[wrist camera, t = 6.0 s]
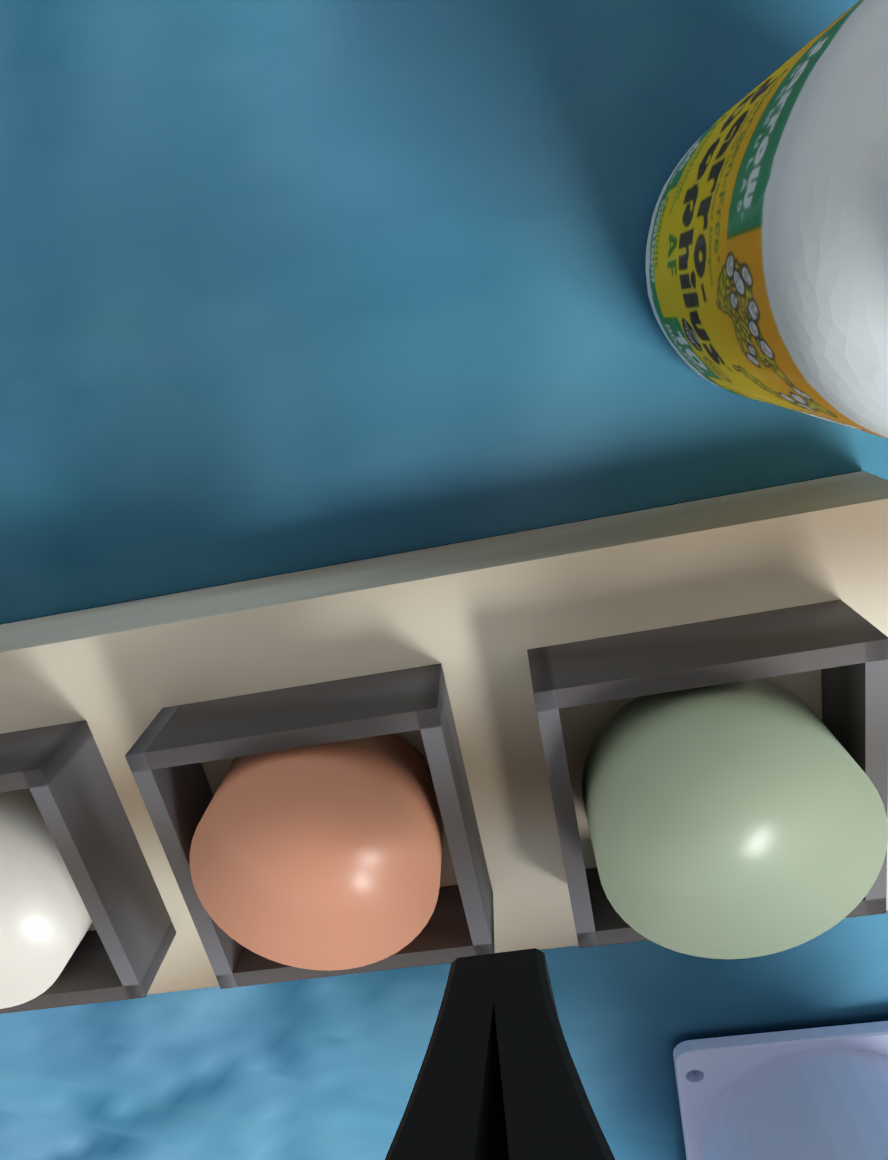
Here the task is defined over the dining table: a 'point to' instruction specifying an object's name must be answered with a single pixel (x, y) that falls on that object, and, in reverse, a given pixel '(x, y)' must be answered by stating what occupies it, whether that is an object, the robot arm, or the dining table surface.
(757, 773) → the button sage
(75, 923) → the button cream
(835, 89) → the supplement bottle
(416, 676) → the button board
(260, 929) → the button terracotta
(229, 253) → the dining table surface
